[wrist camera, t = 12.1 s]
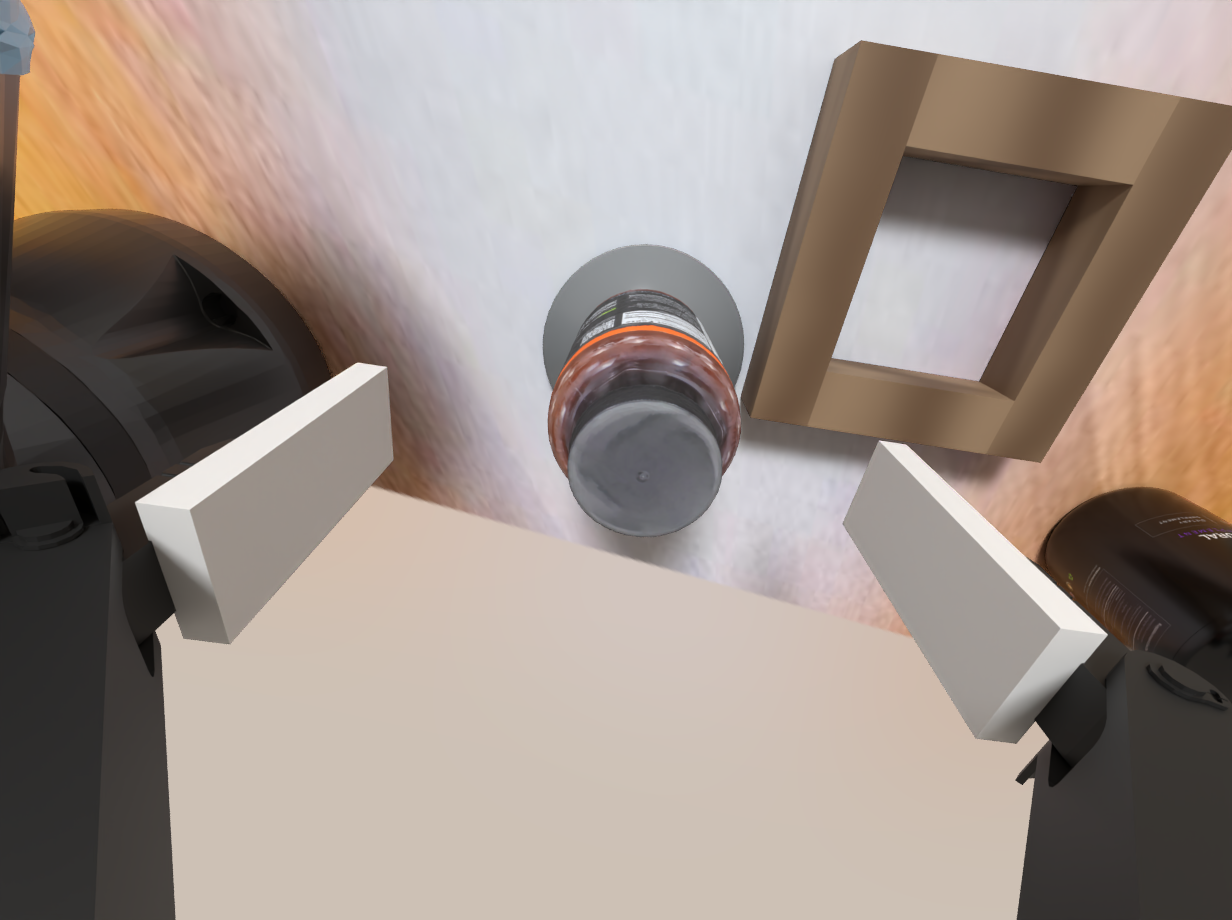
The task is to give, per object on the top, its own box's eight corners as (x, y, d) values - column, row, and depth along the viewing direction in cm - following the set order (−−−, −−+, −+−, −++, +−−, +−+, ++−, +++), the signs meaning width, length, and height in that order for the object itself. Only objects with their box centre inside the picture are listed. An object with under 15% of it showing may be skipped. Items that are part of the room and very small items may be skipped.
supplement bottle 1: (663, 436, 25) (678, 601, 15) (553, 377, 24) (488, 513, 14) (735, 329, 22) (812, 440, 12) (616, 257, 21) (592, 315, 11)
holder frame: (740, 397, 24) (750, 417, 22) (834, 59, 18) (861, 40, 16) (1005, 438, 25) (1040, 462, 22) (1182, 120, 19) (1256, 110, 16)
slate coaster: (538, 424, 25) (535, 429, 25) (554, 228, 21) (551, 229, 21) (715, 451, 26) (717, 456, 25) (766, 262, 21) (769, 264, 21)
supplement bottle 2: (1183, 460, 25) (1589, 661, 14) (1185, 561, 27) (1528, 794, 17) (1029, 511, 26) (1288, 724, 16) (1045, 602, 29) (1276, 836, 19)
